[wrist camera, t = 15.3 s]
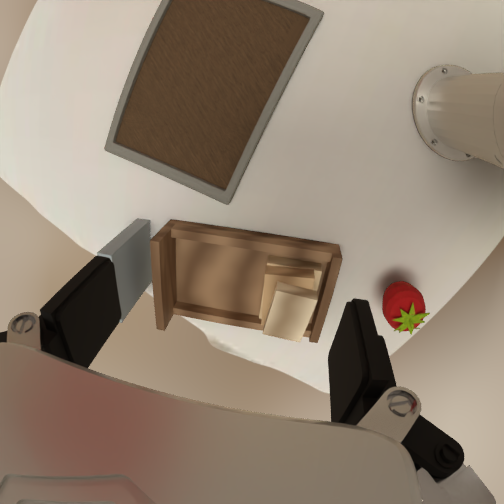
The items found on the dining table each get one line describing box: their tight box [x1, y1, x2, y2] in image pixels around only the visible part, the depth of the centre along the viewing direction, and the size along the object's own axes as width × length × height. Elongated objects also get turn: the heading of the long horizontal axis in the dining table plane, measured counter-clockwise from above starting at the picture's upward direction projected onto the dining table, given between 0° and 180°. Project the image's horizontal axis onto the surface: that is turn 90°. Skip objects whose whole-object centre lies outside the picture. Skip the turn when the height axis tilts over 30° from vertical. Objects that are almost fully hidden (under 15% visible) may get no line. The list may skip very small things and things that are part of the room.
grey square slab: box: [97, 219, 152, 323], centre depth 40 cm, size 2×10×11 cm, turn 174°
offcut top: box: [263, 281, 318, 342], centre depth 38 cm, size 5×7×2 cm
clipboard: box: [105, 0, 324, 205], centre depth 32 cm, size 19×2×30 cm
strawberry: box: [382, 281, 430, 334], centre depth 37 cm, size 6×8×10 cm
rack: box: [150, 219, 342, 343], centre depth 41 cm, size 23×14×7 cm, turn 84°
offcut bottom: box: [259, 255, 322, 326], centre depth 42 cm, size 7×9×2 cm
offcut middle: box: [261, 265, 315, 325], centre depth 40 cm, size 6×8×2 cm
